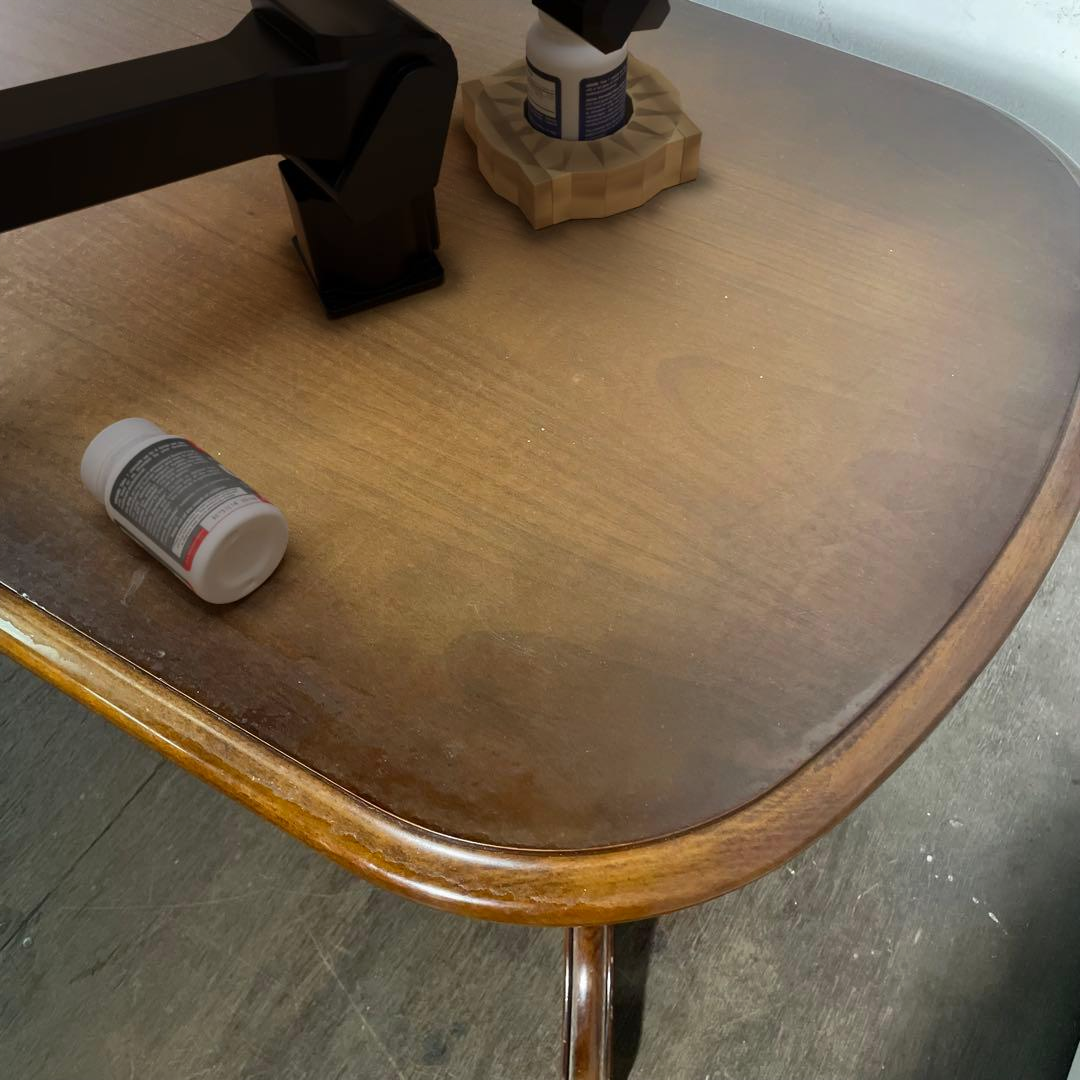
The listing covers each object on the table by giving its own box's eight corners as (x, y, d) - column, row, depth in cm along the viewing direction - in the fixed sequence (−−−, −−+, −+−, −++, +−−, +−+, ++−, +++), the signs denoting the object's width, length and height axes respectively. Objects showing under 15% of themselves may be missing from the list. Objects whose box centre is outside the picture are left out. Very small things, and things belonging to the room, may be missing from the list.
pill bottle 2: (626, 128, 62) (635, -40, 54) (619, 187, 59) (628, 18, 51) (534, 123, 62) (530, -45, 54) (523, 181, 60) (517, 13, 51)
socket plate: (528, 242, 57) (526, 196, 54) (449, 126, 62) (444, 79, 60) (713, 182, 59) (720, 135, 57) (620, 75, 65) (622, 29, 62)
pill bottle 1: (294, 491, 43) (165, 391, 46) (196, 542, 40) (65, 432, 43) (291, 573, 46) (170, 474, 49) (201, 626, 43) (78, 518, 46)
